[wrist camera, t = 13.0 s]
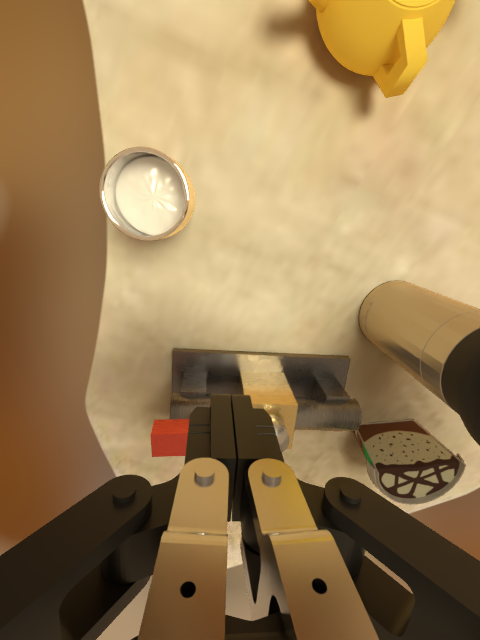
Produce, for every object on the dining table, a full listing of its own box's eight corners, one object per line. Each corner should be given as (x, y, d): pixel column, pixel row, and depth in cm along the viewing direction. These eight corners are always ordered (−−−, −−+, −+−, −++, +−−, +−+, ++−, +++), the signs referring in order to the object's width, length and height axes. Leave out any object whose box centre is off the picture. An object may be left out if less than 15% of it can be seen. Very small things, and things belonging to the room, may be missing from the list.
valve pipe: (347, 356, 47) (377, 388, 39) (334, 423, 51) (359, 466, 42) (173, 348, 45) (165, 380, 36) (172, 419, 48) (163, 464, 40)
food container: (341, 458, 53) (370, 512, 43) (343, 424, 51) (374, 473, 42) (417, 451, 54) (461, 503, 44) (422, 417, 52) (469, 464, 42)
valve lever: (285, 413, 39) (290, 427, 36) (283, 440, 40) (288, 455, 37) (154, 416, 38) (150, 431, 35) (156, 443, 39) (152, 459, 36)
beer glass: (177, 243, 41) (159, 261, 27) (126, 207, 39) (78, 205, 25) (210, 194, 39) (210, 185, 25) (159, 154, 38) (128, 120, 24)
